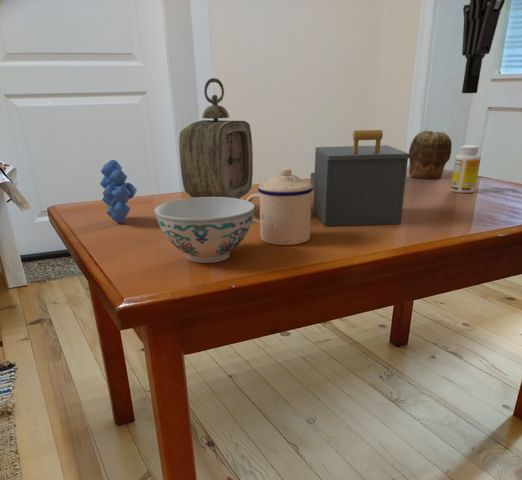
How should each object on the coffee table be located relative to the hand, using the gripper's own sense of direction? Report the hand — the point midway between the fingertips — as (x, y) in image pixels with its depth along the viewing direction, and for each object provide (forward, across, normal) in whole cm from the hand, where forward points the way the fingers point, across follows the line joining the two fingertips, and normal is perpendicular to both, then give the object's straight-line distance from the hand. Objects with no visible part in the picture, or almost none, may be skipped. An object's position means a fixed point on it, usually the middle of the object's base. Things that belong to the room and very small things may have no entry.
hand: (469, 92), depth 110 cm
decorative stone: (+22, -6, -26) cm, 35 cm away
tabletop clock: (+22, +11, -56) cm, 61 cm away
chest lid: (+10, +19, -29) cm, 36 cm away
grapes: (+22, +16, -75) cm, 79 cm away
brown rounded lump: (+22, -24, +3) cm, 32 cm away
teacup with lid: (+22, +32, -46) cm, 60 cm away
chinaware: (+22, +40, -58) cm, 74 cm away
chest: (+21, +19, -29) cm, 41 cm away
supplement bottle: (+22, -2, +3) cm, 22 cm away
